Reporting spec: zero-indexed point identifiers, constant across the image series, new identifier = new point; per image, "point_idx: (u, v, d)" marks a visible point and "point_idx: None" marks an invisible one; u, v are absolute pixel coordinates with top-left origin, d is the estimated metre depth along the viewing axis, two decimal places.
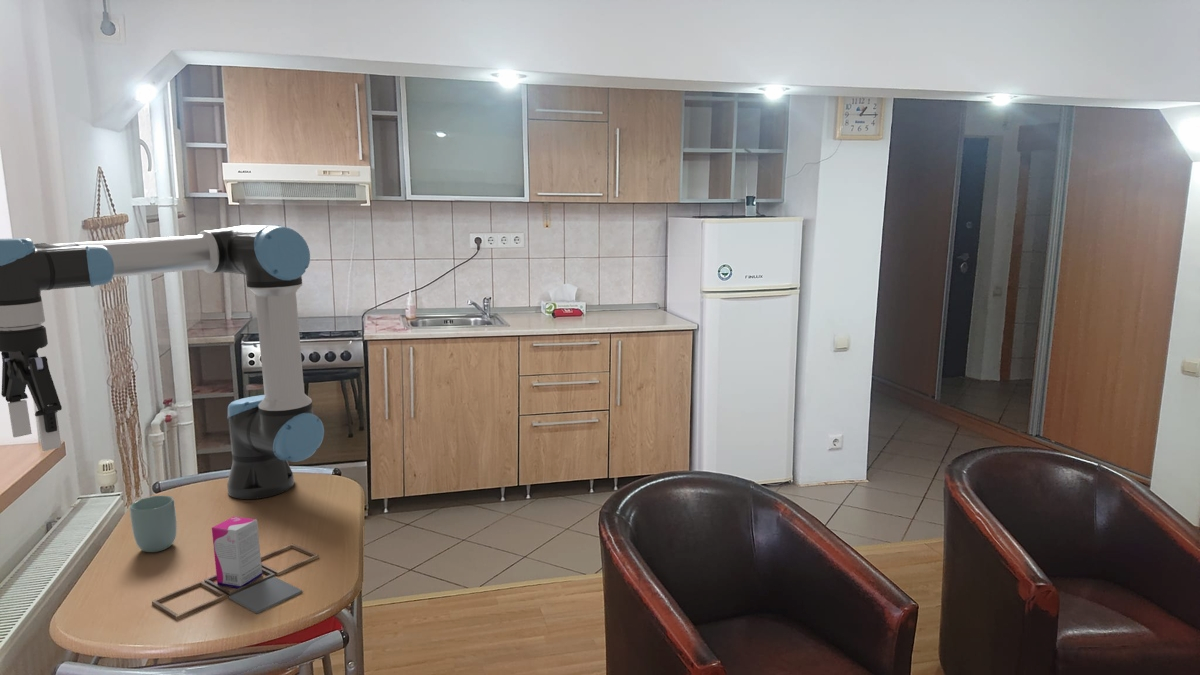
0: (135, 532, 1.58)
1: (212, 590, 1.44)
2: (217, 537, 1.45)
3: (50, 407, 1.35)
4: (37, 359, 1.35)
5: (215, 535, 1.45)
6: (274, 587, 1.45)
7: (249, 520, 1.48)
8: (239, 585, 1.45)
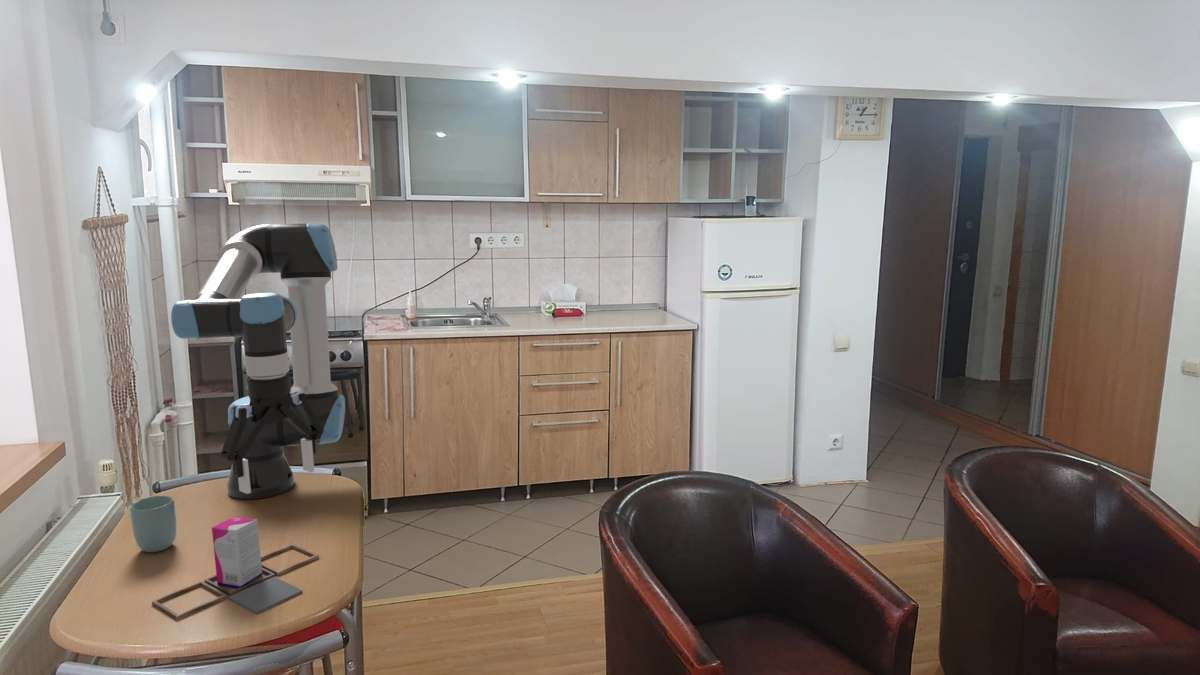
0: (135, 532, 1.58)
1: (212, 590, 1.44)
2: (217, 537, 1.45)
3: (222, 454, 1.44)
4: (237, 408, 1.45)
5: (215, 535, 1.45)
6: (274, 587, 1.45)
7: (249, 520, 1.48)
8: (239, 585, 1.45)
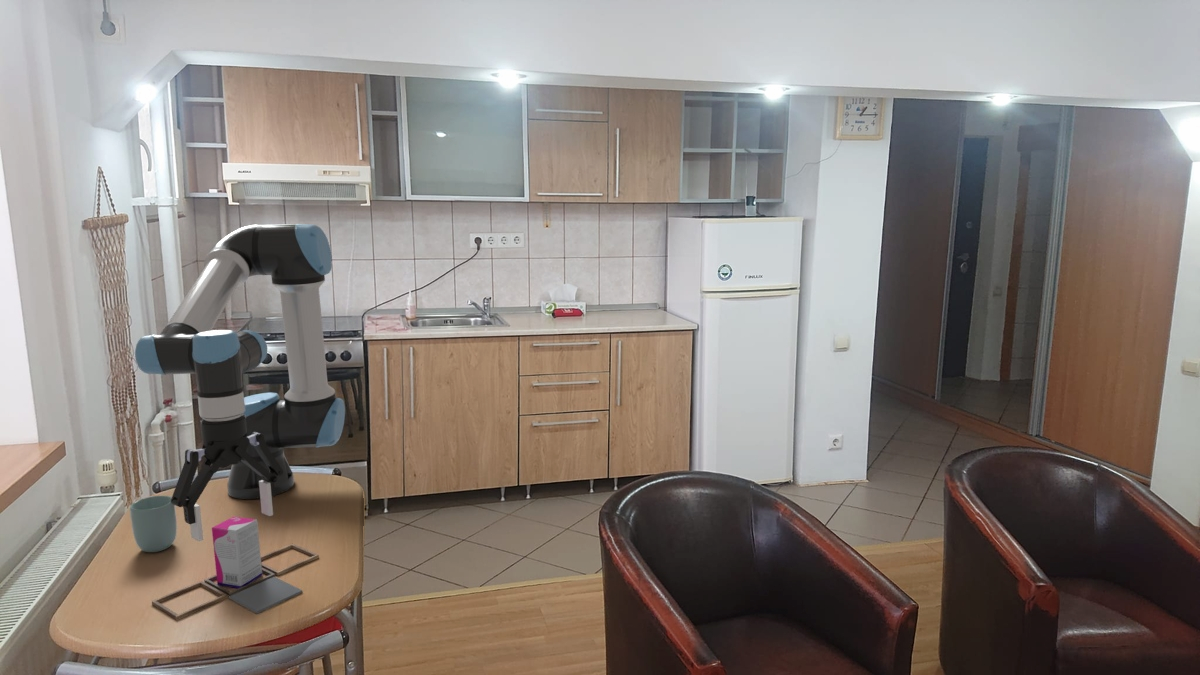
0: (135, 532, 1.58)
1: (212, 590, 1.44)
2: (217, 537, 1.45)
3: (173, 501, 1.37)
4: (188, 452, 1.38)
5: (215, 535, 1.45)
6: (274, 587, 1.45)
7: (249, 520, 1.48)
8: (239, 585, 1.45)
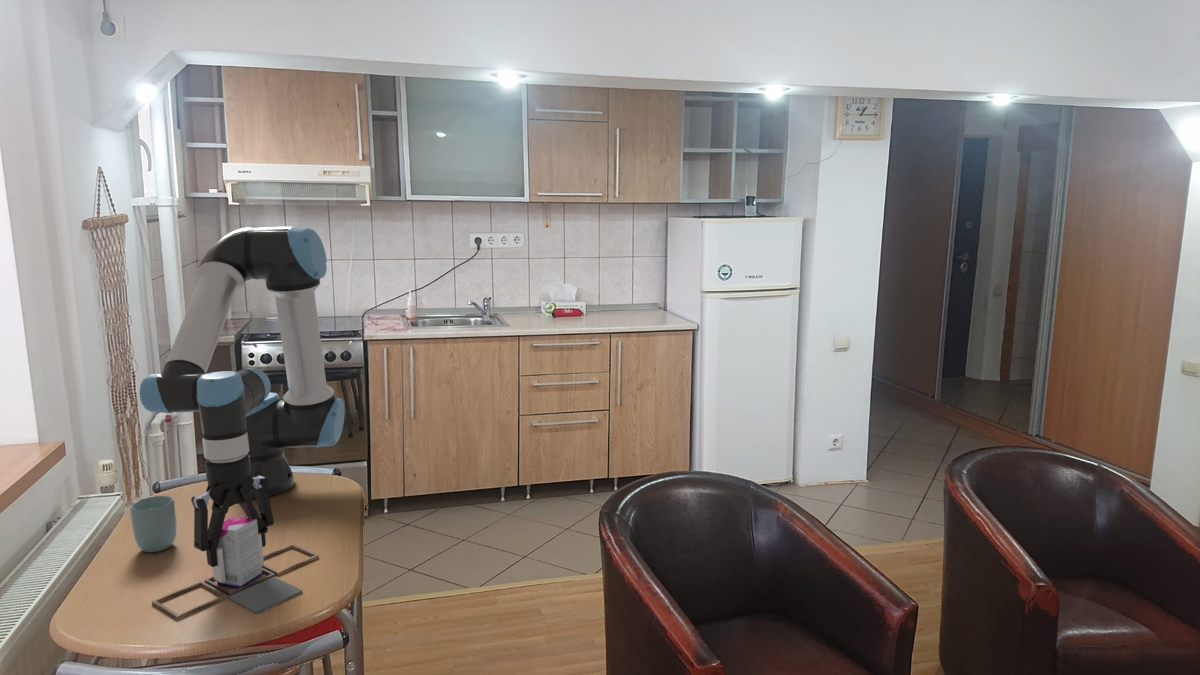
0: (135, 532, 1.58)
1: (212, 590, 1.44)
2: None
3: (196, 545, 1.42)
4: (194, 500, 1.40)
5: None
6: (274, 587, 1.45)
7: (249, 520, 1.48)
8: (239, 585, 1.45)
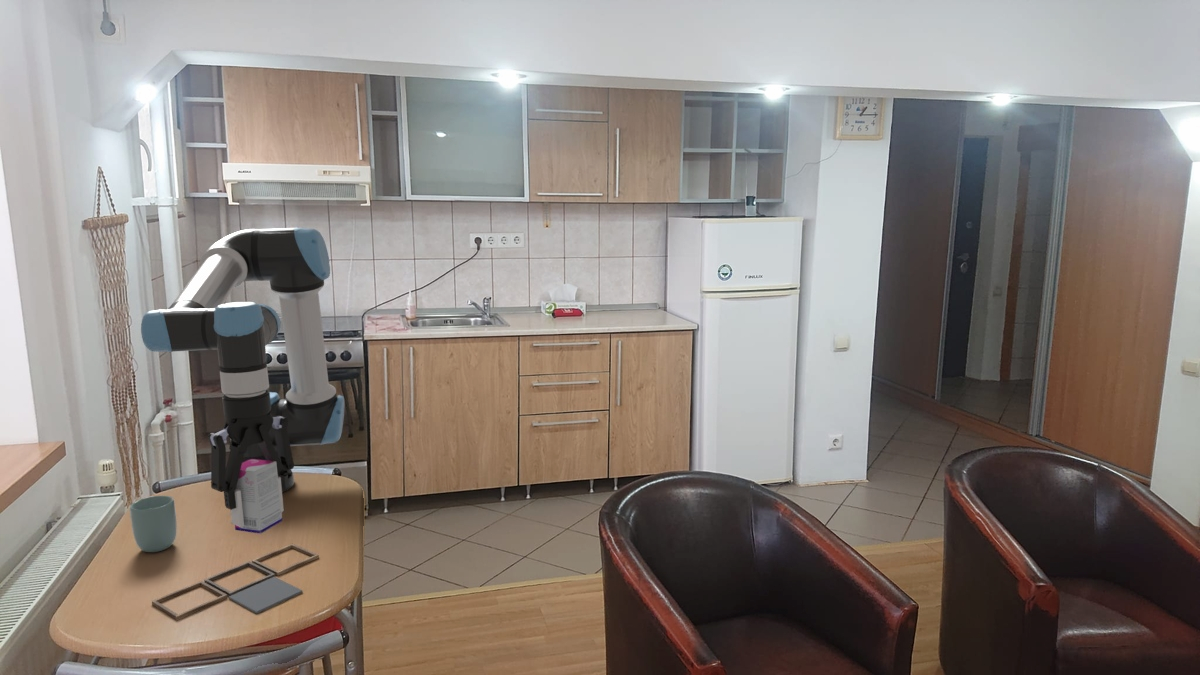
0: (135, 532, 1.58)
1: (212, 590, 1.44)
2: None
3: (213, 485, 1.33)
4: (211, 437, 1.32)
5: None
6: (274, 587, 1.45)
7: (268, 462, 1.39)
8: (258, 530, 1.37)
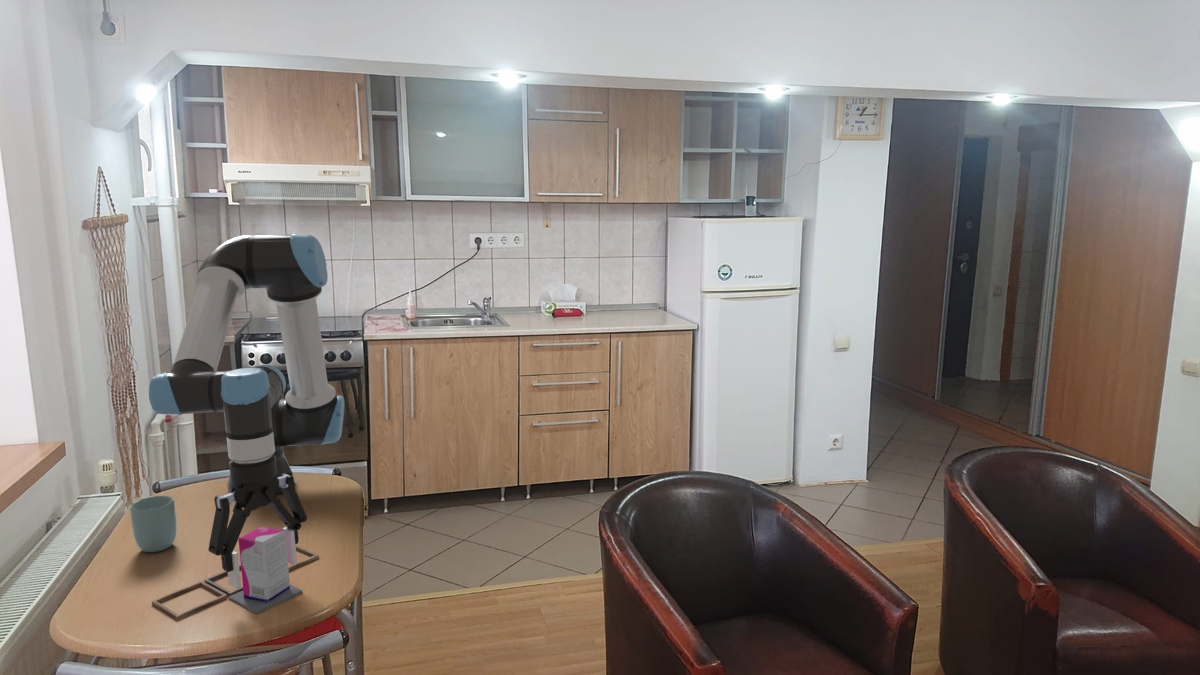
0: (135, 532, 1.58)
1: (212, 590, 1.44)
2: (244, 548, 1.39)
3: (210, 549, 1.34)
4: (217, 499, 1.34)
5: (242, 547, 1.39)
6: None
7: (277, 531, 1.42)
8: (266, 599, 1.39)
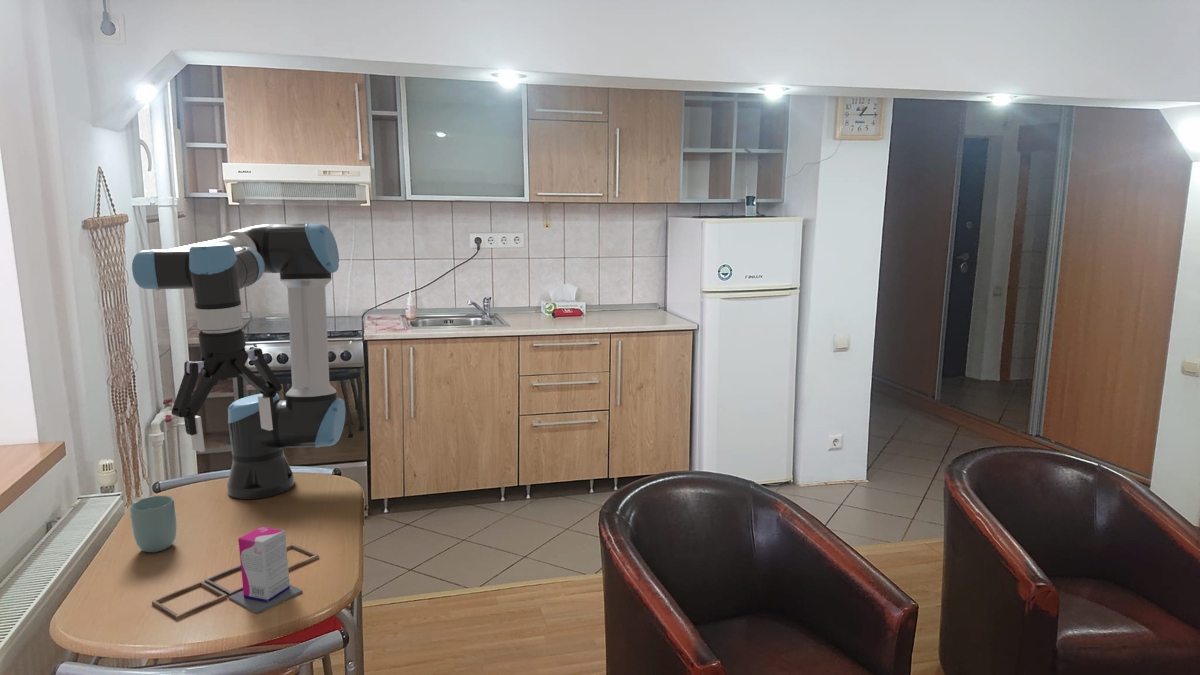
0: (135, 532, 1.58)
1: (212, 590, 1.44)
2: (244, 548, 1.39)
3: (173, 411, 1.38)
4: (187, 363, 1.39)
5: (242, 547, 1.39)
6: None
7: (277, 531, 1.42)
8: (266, 599, 1.39)
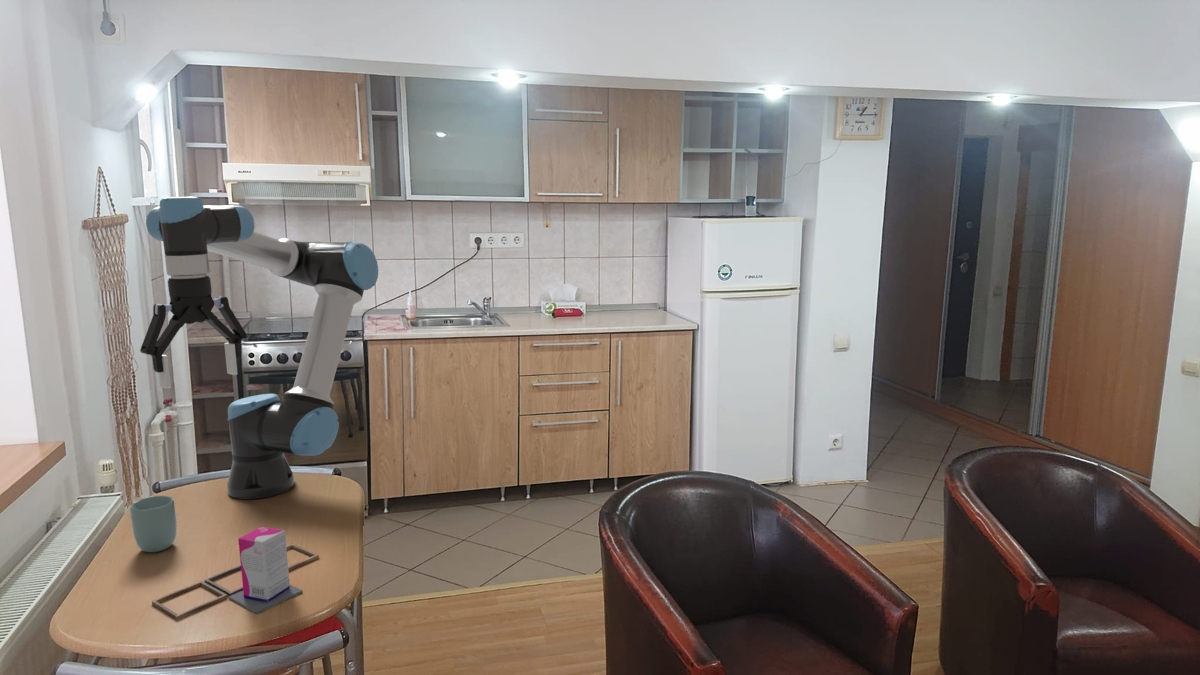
0: (135, 532, 1.58)
1: (212, 590, 1.44)
2: (244, 548, 1.39)
3: (142, 349, 1.50)
4: (156, 305, 1.51)
5: (242, 547, 1.39)
6: None
7: (277, 531, 1.42)
8: (266, 599, 1.39)
